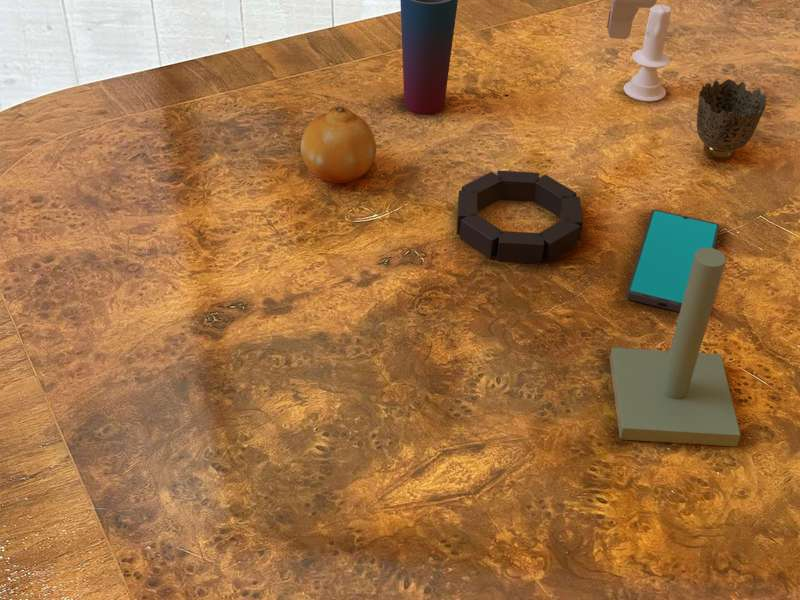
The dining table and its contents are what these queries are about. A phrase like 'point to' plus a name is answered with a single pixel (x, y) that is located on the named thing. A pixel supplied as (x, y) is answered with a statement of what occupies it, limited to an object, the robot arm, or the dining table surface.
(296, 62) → the dining table surface
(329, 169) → the fruit
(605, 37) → the dining table surface
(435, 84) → the cup
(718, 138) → the cup
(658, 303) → the smartphone
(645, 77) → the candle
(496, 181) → the ring
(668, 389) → the post
